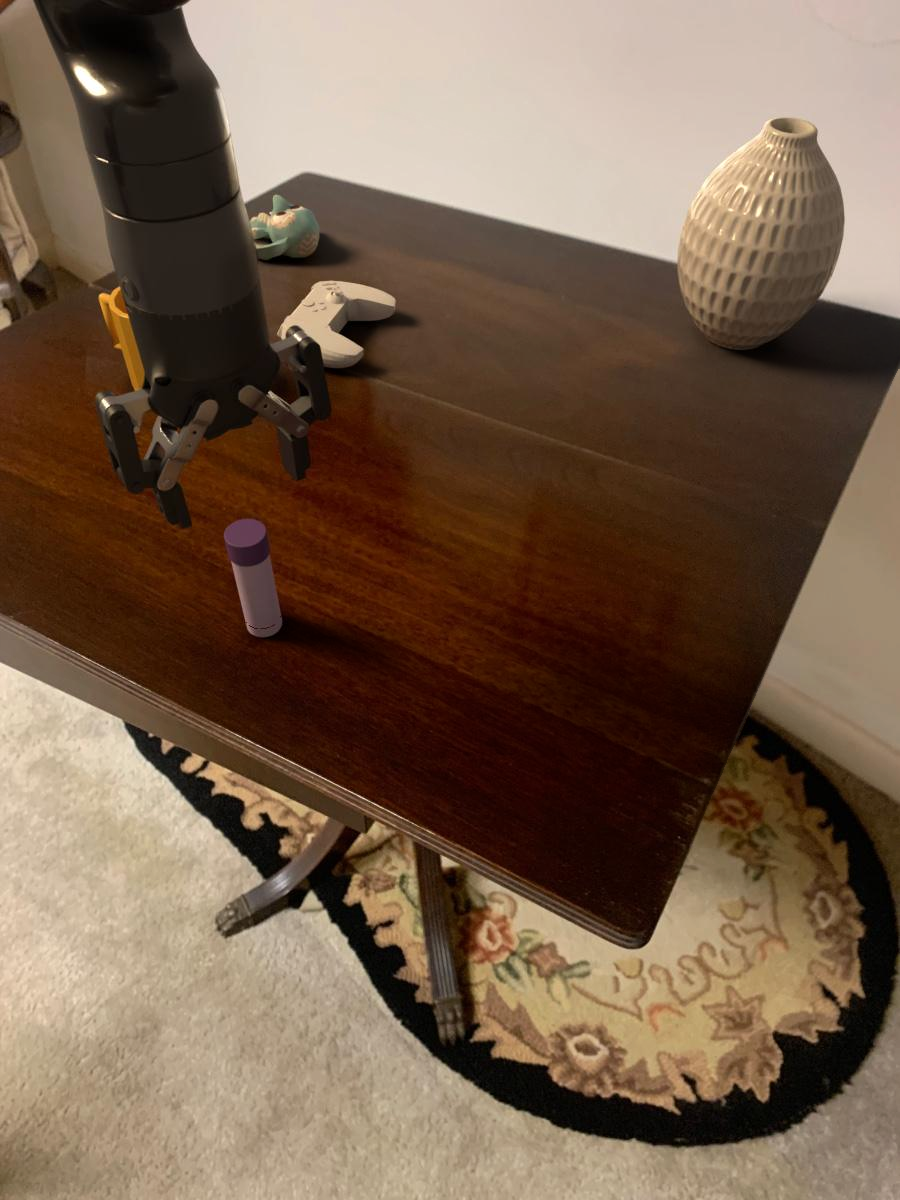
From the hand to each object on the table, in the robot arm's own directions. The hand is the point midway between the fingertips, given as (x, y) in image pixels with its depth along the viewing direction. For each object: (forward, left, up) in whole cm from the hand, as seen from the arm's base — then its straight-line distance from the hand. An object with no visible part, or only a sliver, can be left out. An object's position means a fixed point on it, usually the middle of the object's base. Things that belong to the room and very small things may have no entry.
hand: (239, 497), depth 61 cm
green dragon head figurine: (-1, +64, -14) cm, 65 cm away
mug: (-12, +36, -13) cm, 40 cm away
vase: (+51, +40, -14) cm, 66 cm away
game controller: (+6, +42, -14) cm, 45 cm away
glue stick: (0, 0, -13) cm, 13 cm away
